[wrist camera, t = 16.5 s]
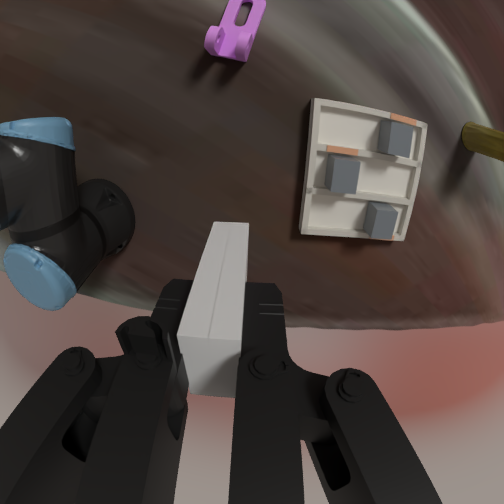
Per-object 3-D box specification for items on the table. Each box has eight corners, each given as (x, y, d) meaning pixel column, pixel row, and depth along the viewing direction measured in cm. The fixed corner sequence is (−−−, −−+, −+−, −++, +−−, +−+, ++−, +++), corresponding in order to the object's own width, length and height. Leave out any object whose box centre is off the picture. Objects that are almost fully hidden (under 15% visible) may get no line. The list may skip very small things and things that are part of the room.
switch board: (298, 227, 47) (301, 234, 44) (311, 98, 36) (314, 97, 34) (397, 234, 47) (404, 241, 44) (419, 122, 36) (428, 123, 34)
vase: (470, 157, 38) (518, 178, 25) (457, 134, 36) (507, 151, 24) (483, 138, 35) (531, 155, 23) (470, 115, 34) (520, 127, 21)
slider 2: (377, 149, 38) (387, 153, 34) (380, 119, 35) (391, 121, 32) (397, 153, 38) (409, 158, 34) (401, 124, 35) (413, 127, 32)
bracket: (246, 62, 34) (244, 53, 27) (211, 55, 33) (202, 45, 27) (269, -3, 27) (271, -20, 21) (235, -9, 27) (231, -27, 21)
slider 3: (362, 227, 45) (370, 238, 41) (368, 201, 42) (377, 209, 39) (382, 229, 45) (391, 239, 41) (388, 203, 42) (398, 212, 39)
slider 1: (324, 184, 41) (330, 191, 38) (328, 153, 39) (334, 158, 35) (347, 187, 41) (355, 194, 38) (351, 157, 39) (360, 162, 35)
